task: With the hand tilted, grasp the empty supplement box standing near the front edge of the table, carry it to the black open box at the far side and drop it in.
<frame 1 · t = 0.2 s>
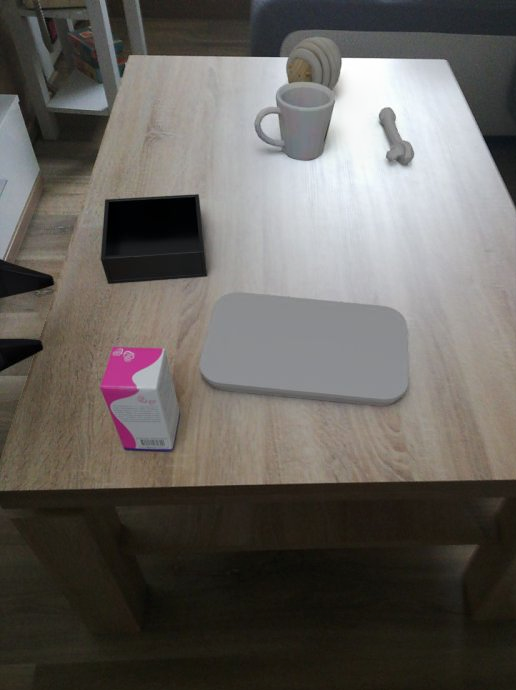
hand: (48, 311, 56), 15 cm above the table, tool horizontal, fingers open, 9 cm apart
mug: (292, 153, 104), on the table
bone: (393, 145, 108), on the table
supplement box: (152, 431, 66), on the table
tablet: (306, 354, 74), on the table
black open box: (157, 249, 86), on the table
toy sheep: (314, 98, 118), on the table
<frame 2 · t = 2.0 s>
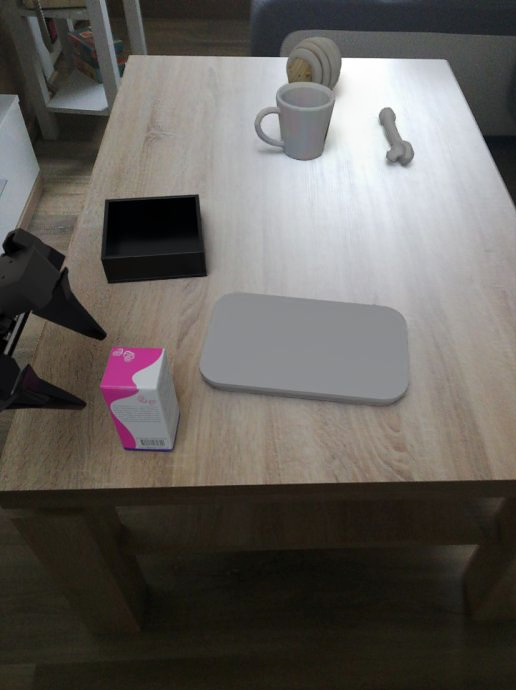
hand: (95, 370, 57), 11 cm above the table, tool tilted 45°, fingers open, 9 cm apart
nothing on the table moved.
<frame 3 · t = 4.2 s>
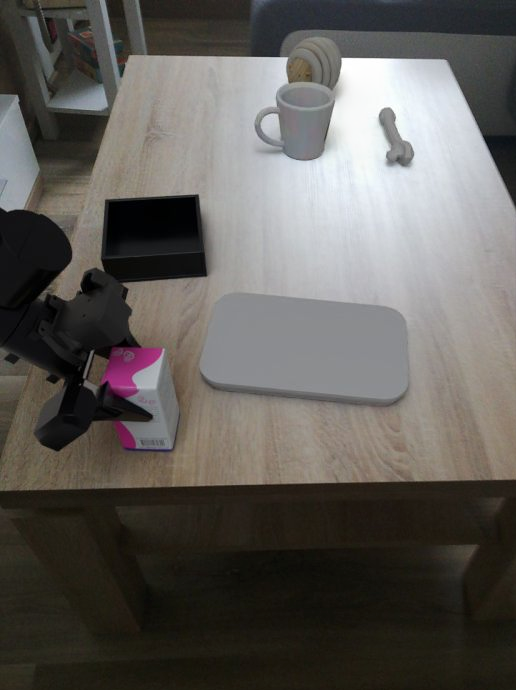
hand: (155, 396, 61), 7 cm above the table, tool tilted 45°, fingers closed on supplement box, 6 cm apart
supplement box: (152, 431, 66), on the table, touching gripper
everything else where it was.
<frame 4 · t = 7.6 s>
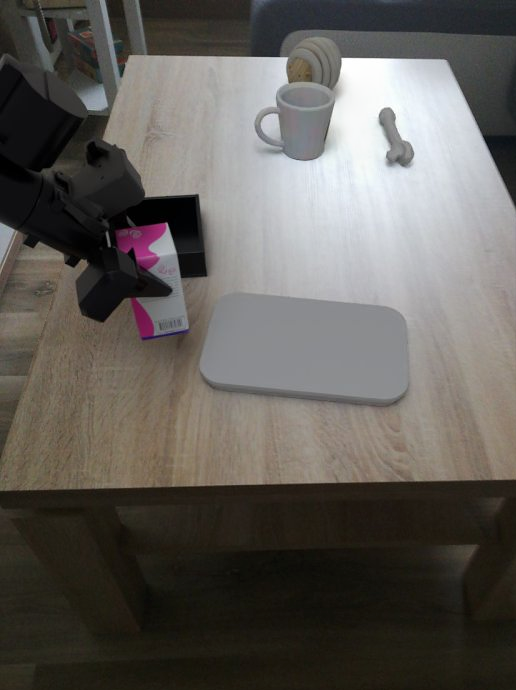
hand: (165, 275, 62), 14 cm above the table, tool tilted 45°, fingers closed on supplement box, 6 cm apart
supplement box: (161, 321, 67), point 7 cm above the table, touching gripper
everything else where it was.
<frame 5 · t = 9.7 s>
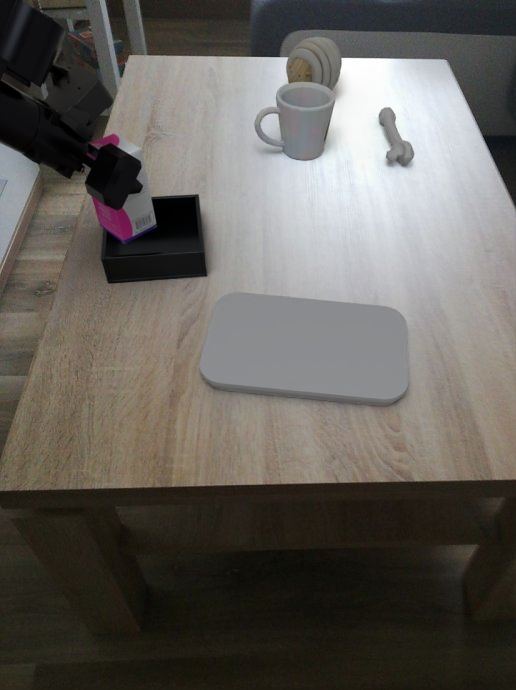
hand: (126, 179, 73), 13 cm above the table, tool tilted 45°, fingers closed on supplement box, 6 cm apart
supplement box: (128, 228, 78), point 6 cm above the table, touching gripper
everything else where it was.
when the fingers open (11 cm above the table, at t = 11.2 s): supplement box drops 1 cm, resting on black open box.
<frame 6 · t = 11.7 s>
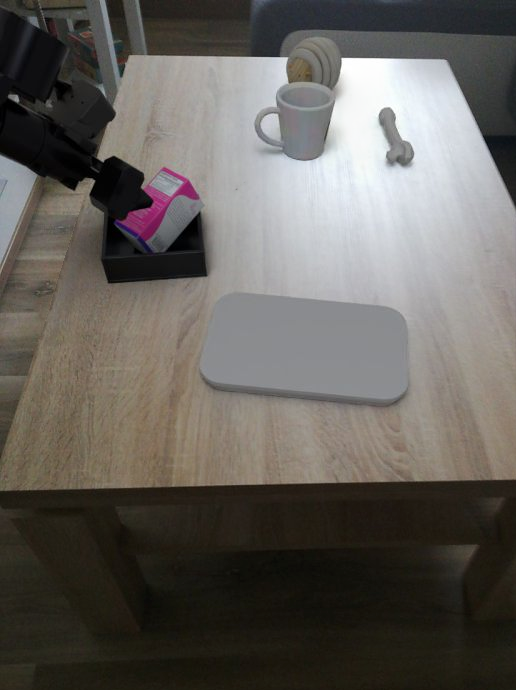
hand: (129, 189, 75), 12 cm above the table, tool tilted 45°, fingers open, 9 cm apart
supplement box: (133, 243, 81), point 3 cm above the table, touching black open box
everything else where it was.
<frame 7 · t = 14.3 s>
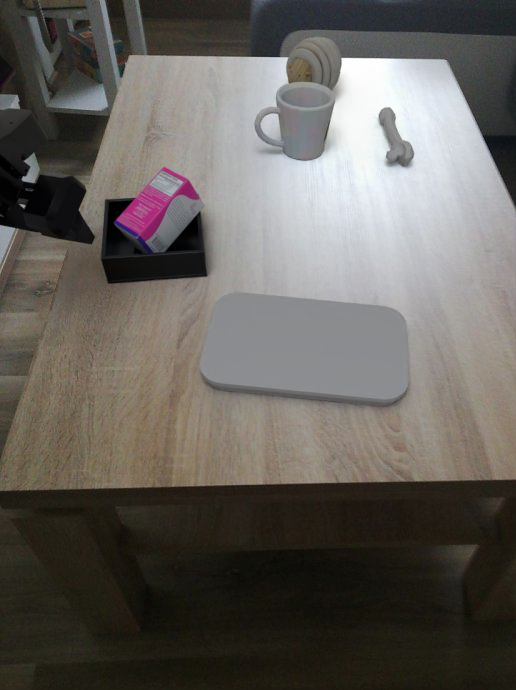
hand: (65, 234, 68), 12 cm above the table, tool tilted 30°, fingers open, 9 cm apart
nothing on the table moved.
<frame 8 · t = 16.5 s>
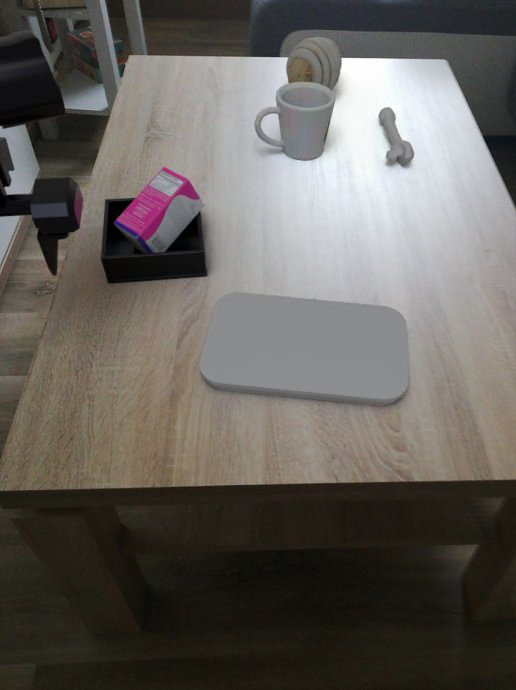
hand: (11, 276, 62), 13 cm above the table, tool pointing down, fingers open, 9 cm apart
nothing on the table moved.
at the end: supplement box inside the target area in the black open box (3.9 cm from its centre), point 3.2 cm above the black open box's base; the gripper is holding nothing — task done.
